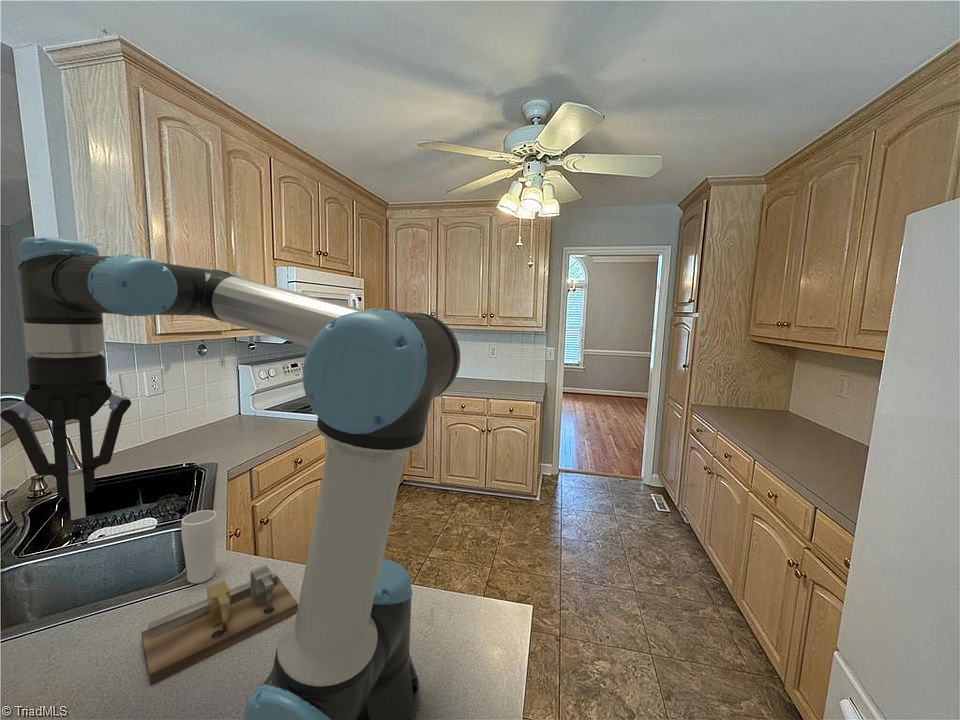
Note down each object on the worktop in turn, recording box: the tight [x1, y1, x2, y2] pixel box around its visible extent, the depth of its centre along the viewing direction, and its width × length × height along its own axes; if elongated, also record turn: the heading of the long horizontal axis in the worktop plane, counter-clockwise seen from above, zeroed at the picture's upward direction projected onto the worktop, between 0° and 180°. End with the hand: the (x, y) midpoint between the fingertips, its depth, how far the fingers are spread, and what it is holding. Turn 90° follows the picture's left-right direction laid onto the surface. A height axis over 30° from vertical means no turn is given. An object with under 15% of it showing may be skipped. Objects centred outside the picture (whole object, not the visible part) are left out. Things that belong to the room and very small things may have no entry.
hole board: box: [140, 564, 299, 686], centre depth 78 cm, size 12×24×8 cm, turn 136°
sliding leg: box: [206, 580, 231, 631], centre depth 77 cm, size 7×3×6 cm, turn 46°
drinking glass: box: [180, 509, 218, 585], centre depth 91 cm, size 7×7×15 cm
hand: (78, 514), depth 57 cm, fingers closed
